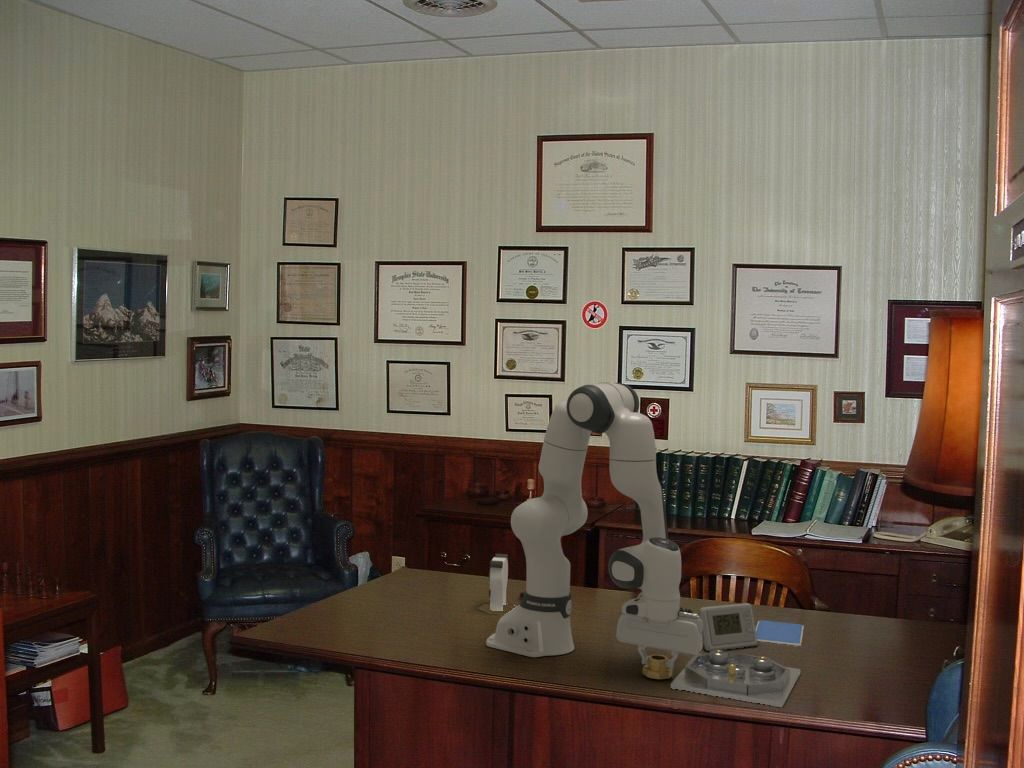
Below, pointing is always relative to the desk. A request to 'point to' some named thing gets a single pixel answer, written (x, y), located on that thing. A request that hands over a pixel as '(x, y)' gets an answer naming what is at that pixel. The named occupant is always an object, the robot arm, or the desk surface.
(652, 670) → the flanged octagonal bushing
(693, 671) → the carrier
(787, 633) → the tablet computer
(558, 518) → the robot arm
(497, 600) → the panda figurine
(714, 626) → the digital clock
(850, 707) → the desk surface
